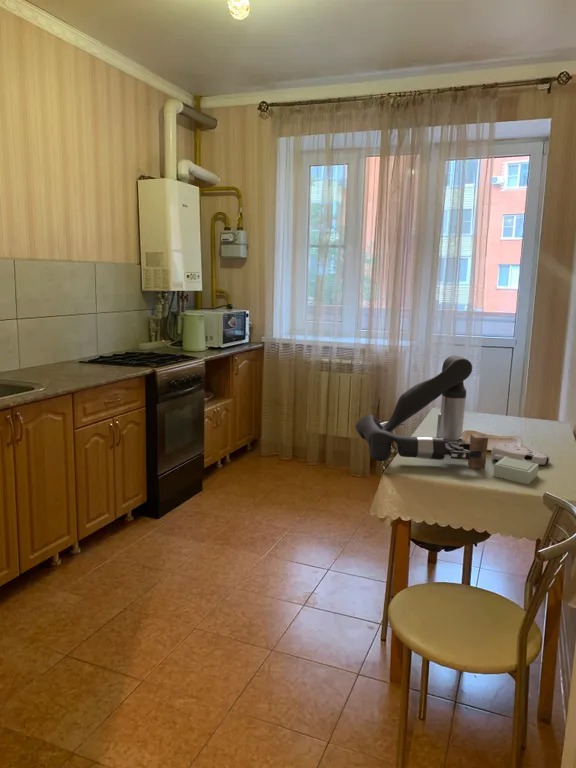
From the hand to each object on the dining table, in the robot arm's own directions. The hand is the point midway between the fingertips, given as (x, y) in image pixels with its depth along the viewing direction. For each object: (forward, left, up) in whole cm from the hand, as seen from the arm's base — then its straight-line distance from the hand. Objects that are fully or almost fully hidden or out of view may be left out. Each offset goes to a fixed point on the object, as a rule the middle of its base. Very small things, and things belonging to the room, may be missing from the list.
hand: (477, 450), depth 193 cm
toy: (+9, +19, -6) cm, 22 cm away
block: (0, +1, -6) cm, 6 cm away
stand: (+13, +1, -6) cm, 14 cm away
